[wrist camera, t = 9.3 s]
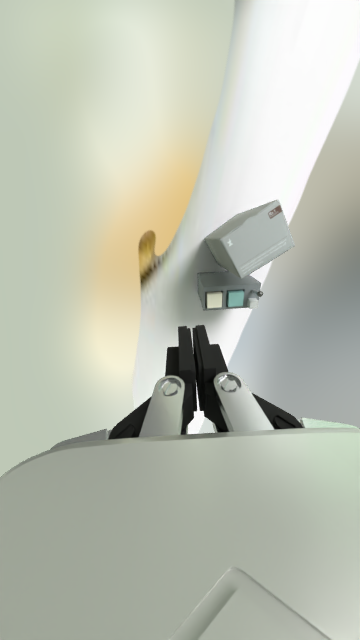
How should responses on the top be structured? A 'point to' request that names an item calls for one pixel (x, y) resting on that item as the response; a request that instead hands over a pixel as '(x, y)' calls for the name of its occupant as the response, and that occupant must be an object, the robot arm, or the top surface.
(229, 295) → the teal button
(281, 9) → the top surface
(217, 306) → the cream button
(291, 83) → the top surface
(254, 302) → the grey button
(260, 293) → the metal lever
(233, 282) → the panel
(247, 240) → the skincare box
